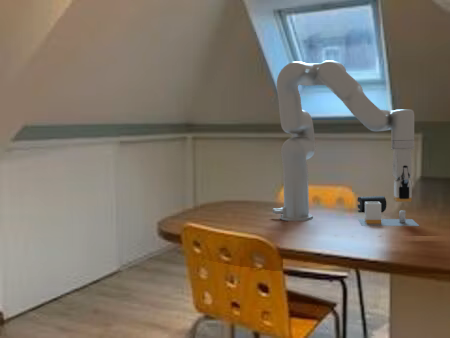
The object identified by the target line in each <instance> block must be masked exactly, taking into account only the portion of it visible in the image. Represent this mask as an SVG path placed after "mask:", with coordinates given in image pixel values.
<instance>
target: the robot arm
mask: <svg viewBox="0 0 450 338" xmlns="http://www.w3.org/2000/svg"><path fill="white" fill-rule="evenodd" d="M299 86H305V87H308V86H309V87H310V86H326V87H327V89H329V90H330V91H331V92H332V93H333V94H334V95H335V96H336V97H337V98H339V100H340V101H341V102H342V103H343V104H344V106H345V107H346V108H347V109H348V110H349V112H350V113H351V114H352V115H353V116H354V117H355V118H356V119H357V120H358V121H359V122H360V123H361V124H363V126H364V127H365V128H366V129H368V130H370V131H371V132H384V131H391V132H390V135H391V137H390V138H391V139H390V148H391V150H392V151H393V154H392V172H391V174H392V176H393V177H394V178H395V179H396V180H400V187H399V198H400V199H409V180H410V179H411V177H412V169H413V168H412V166H413V165H412V150H413V151H414V150H415V112H414V110H413V109H409V108H407V109H395V110H389V109H387V110H386V109H380V107H378V106H377V105H375V103H373V102H372V101H371V99H370V98H369V97H368V96H367V95H366V94H365V92H364V90H363V86H362V85H361V84H360V83H359V82H358V81H357V80H356V79H355V78H354V77H353V76H351V75H350V73H348V72H347V69H346V67H345V65H344V64H343V63H341V62H339V61H336V60H333V59H331V60H329V59H328V60H324V61H323V62H320V63H307V62H303V61H297V60H296V61H291V62H289V63H288V64H286V65H284V66H283V68H282V69H280V72H279V73H278V75H277V78H276V93H277V99H278V110H279V118H280V126H281V129H282V130H283V132H284V133H286V134H290V135H291V137H289V138H287V139H286V140H285V141H284V142H283V144H282V145H281V148H280V155H281V156H280V157H281V160H282V161H281V162H282V163H281V164H282V170H283V171H282V172H283V173H282V174H283V175H282V177H283V207H280V208H275V207H274V208H272V214H276V215H277V214H280V215H279V217H280V218H279V219H280V220H282V221H287V222H303V221H311V220H313V218H314V215H313V214H311V213H310V208H309V207H310V205H309V204H310V203H309V201H310V199H309V197H310V195H309V194H310V193H309V191H310V190H309V168H308V163H307V161H308V160H310V159H311V158H313V157H314V155H315V152H316V138H315V130H314V122H313V119H312V118H313V117H312V116H311V114H310V113H309V112H308V111H307V110H306V109H305V110H304V109H303V105H302V98H301V94H300V91H299ZM402 180H403V181H402Z"/></svg>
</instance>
